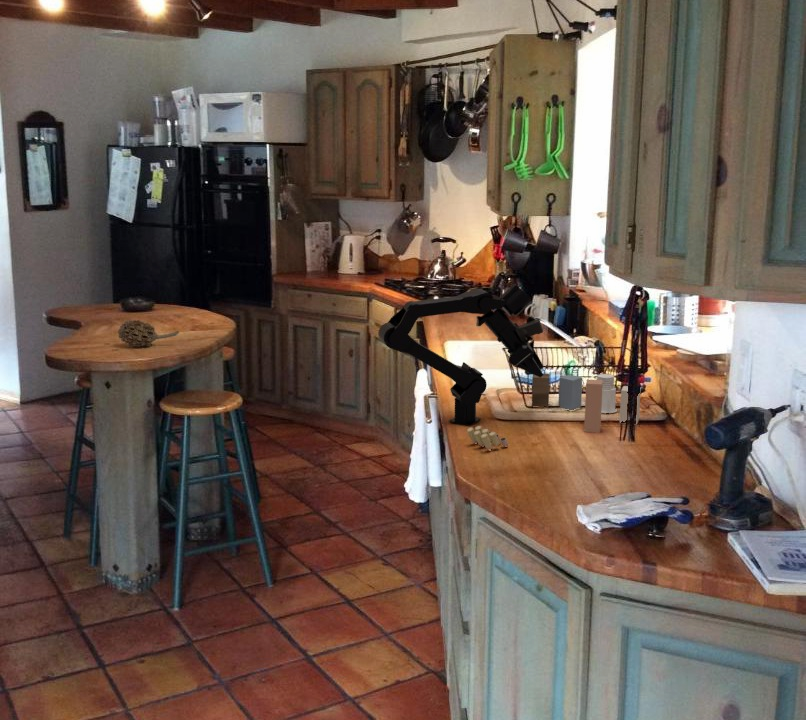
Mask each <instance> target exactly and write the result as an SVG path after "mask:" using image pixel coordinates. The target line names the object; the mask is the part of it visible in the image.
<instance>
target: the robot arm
mask: <svg viewBox="0 0 806 720" xmlns="http://www.w3.org/2000/svg"><path fill="white" fill-rule="evenodd" d="M532 303H533V301H532V299H531V297H530V296H529V295H528V294H527V293H526V292H525V291H523V290H522V289H521V288H520V286H518V285H517V284H516V283H512V284H511V285H510V286H509V287H508V289H507V290H506V291H505V292H504V293H503V294H502V295H500V296H498V295H495V294H494V295H492V294H491V293H489V292H488V291H486V290H483V289H482V288H474V289H471V290H468V291H465V292H463V293H461V294H458V295H454V296H449V297H448V296H447V297H441V298H440V297H438V298H432V299H423V300H416V301H414V300H409V301H407V302H405V303H404V305H402V307H401V309H400V310H398V311H397V312H396V313H395V314H394V315H392V316H391V317H390V319H389V320H388V321H387V322H385V323H383V324H382V325H381V326H380V327H379V329H378V332H377V333H378V339H379V340H380V342H382V343H383V344H384V345H385V346H386V347H388V348H389V349H391V350H394V351H396V352H400V353H403V354H408V355H410V356H412V357H413V358H415V359H417V360H419V361H420V362H422V363H424V364H425V365H427V366H429V367H430V368H432V369H434V370H436V371H438V372H439V373H440V374H443V375H444V376H446V377H448V378H450V379H451V380H452V381H453V382H454V384H453V385H452V387H451V388H450V389H449V390H450V393H451V396H453V397H454V417H453V418H451V419H449V423H450V424H451V423H452V424H458V425H463V426H468V427H469V426H470V427H471V426H473V425H475V424H477V423H478V422H480V421H481V420H482V417H478V416H477V404H478V403H480V400H481V398H482V395H483V394H484V393H485V391H486V390H487V385H488V384H487V380H486V379H485V378H484V377H483V376H484V374H483V373H482V372H481V371H479V370H478V369H476V368H475V367H471V366H470V365H469V364H467V363H466V362H464V361H463V362H462V364H461V365H457V364H455V363H454V362H452V361H449V360H447V358H444V357H443V356H442V355H439V354H438V353H436V352H434V351H433V350H432V349H429V348H427V347H426V346H424V345H423V344H421V343H419V342H418V341H416V340H415V339H414V338H413V337H411V336H410V335H409V334H410V333H411V331H412V329H413V327H414V326H415V324H416V322H417V320H418V319H419V318H422V317H431V316H439V315H447V314H455V313H467V314H476V327H481V326H483V325H485V326H486V327H487V328H488V329H489V330H490V331H491V333H493V334H494V336H495V337H496V340H497V342H498V343H501V344H502V345H503V346H504V347H505V349H507V353H508V354H509V357H508V358H509V359H508V362H509V363H510V365H512V367H515V368H518V369H521V370H523V371H525V372H527V373H530V374H532V375H533V374H534V375H536V376H538V377H542V376H543V371H542V369H543V368H544V364H543V362H542V360H541V359H540V357H539V356H538V354H537V351H536V350H535V339H534V336H535V335H540V334H543V333H544V328H543V325H542V322H541V320H540V318H535V317H534V316H532V315H531V316H528V317H526V322H524V323H522V324H521V325H519V324H518V323H517V322H513V321H512V319H510V318H509V317H511V316H514V317H517V316H519V314H520V313H522V312H523V311H524V310H525V309H526V308H527V307H528V306H530V304H532ZM508 316H509V317H508Z"/></svg>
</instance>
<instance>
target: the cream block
mask: <svg viewBox="0 0 806 720" xmlns="http://www.w3.org/2000/svg"><path fill="white" fill-rule="evenodd" d="M628 386H629V385H623V386H622V388H621V390H620V407H619V408H620V409H619V423H620V424H622V423H621V422H622V421H623V422H625V421H626V420H627V402H628V393H627V392H628ZM641 389H642V388H641V387H640V393H639V394H638V396H637V415H636V424H635V425H638V423H639V420H640V407H641V392H642V391H641Z"/></svg>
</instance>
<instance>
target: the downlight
mask: <svg viewBox="0 0 806 720" xmlns="http://www.w3.org/2000/svg"><path fill="white" fill-rule="evenodd" d="M596 380H603V386H602V408H601V414H606V413H609V414H612V413H613V414H614V413H617V412H618V408H616V400H617V399H616V397H617V396H616V395H617V387H615V375H613V374H609V373H605V374H604V373H602V374H597V375H596ZM615 408H616V409H615Z"/></svg>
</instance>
